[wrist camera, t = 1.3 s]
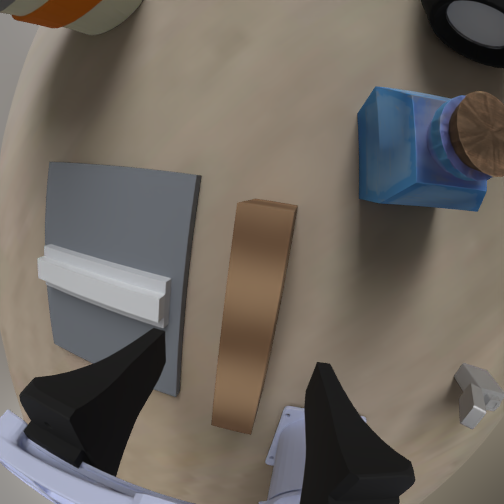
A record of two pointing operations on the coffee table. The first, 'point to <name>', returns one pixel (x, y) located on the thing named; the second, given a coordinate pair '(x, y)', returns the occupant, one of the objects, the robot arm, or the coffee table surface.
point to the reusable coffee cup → (72, 13)
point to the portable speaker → (470, 28)
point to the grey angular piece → (476, 394)
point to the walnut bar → (251, 309)
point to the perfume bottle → (429, 148)
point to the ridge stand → (118, 258)
